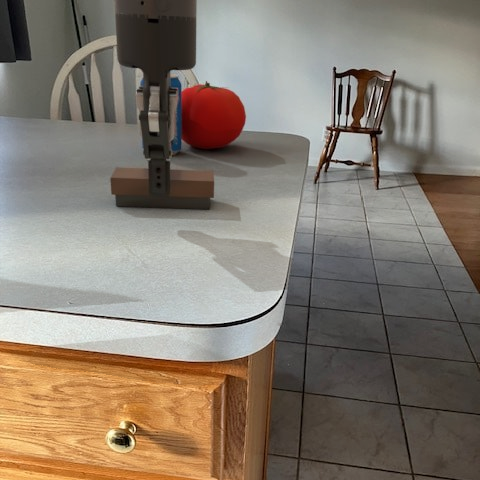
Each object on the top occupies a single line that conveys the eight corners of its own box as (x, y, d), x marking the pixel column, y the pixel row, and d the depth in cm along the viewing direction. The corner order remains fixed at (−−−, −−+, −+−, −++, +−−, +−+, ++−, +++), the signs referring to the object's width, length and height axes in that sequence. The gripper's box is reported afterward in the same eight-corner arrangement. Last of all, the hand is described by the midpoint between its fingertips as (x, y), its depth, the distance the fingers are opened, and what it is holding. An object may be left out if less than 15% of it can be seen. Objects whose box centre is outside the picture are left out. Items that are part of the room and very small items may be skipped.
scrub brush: (112, 207, 64) (110, 177, 62) (117, 195, 68) (116, 167, 67) (213, 210, 65) (214, 181, 63) (212, 198, 69) (213, 170, 68)
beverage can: (159, 158, 87) (158, 77, 81) (134, 151, 91) (131, 73, 85) (189, 153, 91) (189, 76, 85) (164, 147, 95) (163, 72, 89)
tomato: (168, 139, 101) (168, 77, 96) (232, 139, 104) (235, 79, 99) (182, 155, 90) (182, 86, 84) (253, 155, 93) (257, 88, 88)
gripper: (124, 10, 56) (131, 178, 64) (104, 7, 44) (116, 212, 53) (197, 14, 56) (195, 180, 65) (195, 13, 45) (193, 215, 53)
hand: (160, 194), depth 59 cm, fingers closed
